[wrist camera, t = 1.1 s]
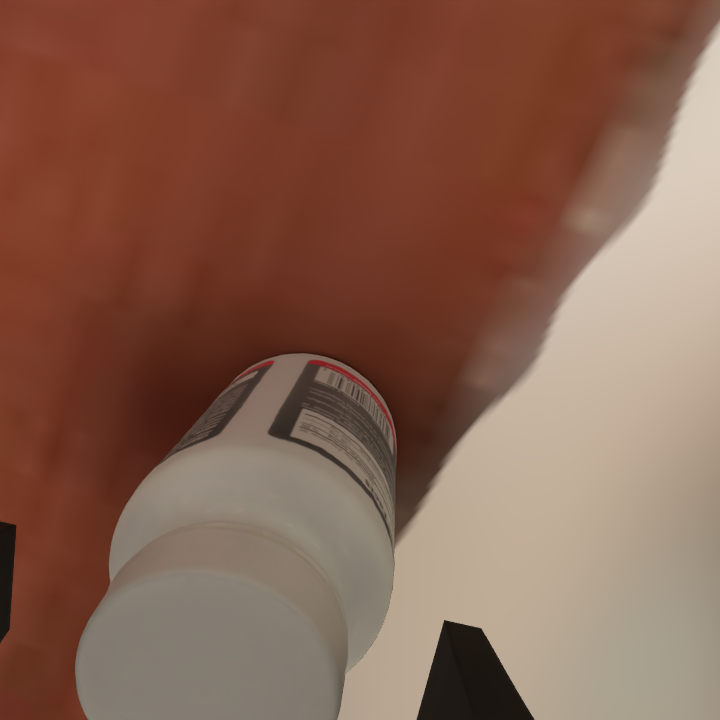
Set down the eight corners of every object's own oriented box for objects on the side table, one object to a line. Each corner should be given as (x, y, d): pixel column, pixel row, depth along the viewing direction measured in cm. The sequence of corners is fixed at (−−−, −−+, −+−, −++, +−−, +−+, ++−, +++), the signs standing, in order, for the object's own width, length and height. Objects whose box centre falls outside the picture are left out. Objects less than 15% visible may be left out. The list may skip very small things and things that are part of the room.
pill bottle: (233, 531, 20) (75, 844, 10) (196, 362, 18) (-25, 543, 9) (410, 513, 19) (412, 827, 10) (384, 337, 18) (359, 503, 8)
